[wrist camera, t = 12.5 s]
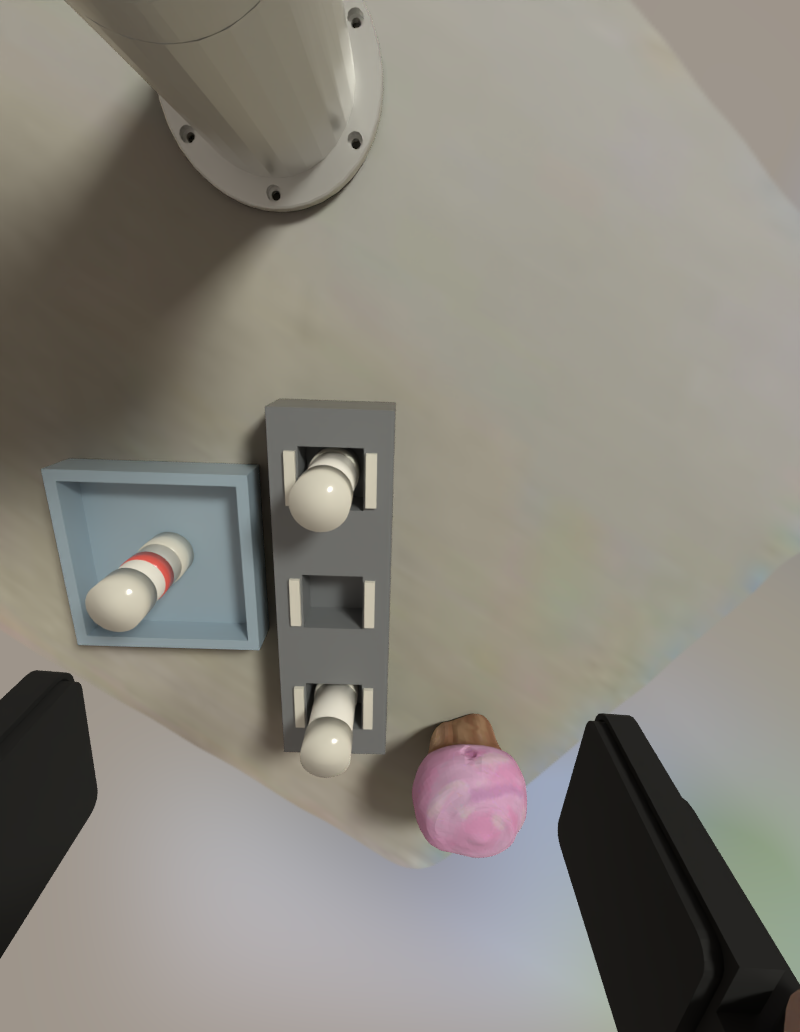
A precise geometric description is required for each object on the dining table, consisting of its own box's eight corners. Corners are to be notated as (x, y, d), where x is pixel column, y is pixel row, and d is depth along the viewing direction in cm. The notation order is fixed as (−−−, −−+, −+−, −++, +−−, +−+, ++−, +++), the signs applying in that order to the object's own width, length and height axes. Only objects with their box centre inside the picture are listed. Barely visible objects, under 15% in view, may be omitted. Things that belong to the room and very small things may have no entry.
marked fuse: (145, 531, 38) (79, 582, 30) (190, 532, 38) (137, 583, 30) (152, 572, 39) (91, 631, 31) (196, 573, 39) (146, 632, 31)
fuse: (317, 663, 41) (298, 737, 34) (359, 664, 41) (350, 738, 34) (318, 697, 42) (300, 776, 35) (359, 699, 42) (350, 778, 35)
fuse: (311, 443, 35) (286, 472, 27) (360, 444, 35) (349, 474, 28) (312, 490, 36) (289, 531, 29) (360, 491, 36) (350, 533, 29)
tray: (68, 458, 36) (40, 468, 34) (259, 464, 37) (247, 475, 34) (100, 623, 41) (78, 645, 38) (269, 628, 41) (259, 650, 38)
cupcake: (512, 767, 46) (541, 879, 37) (417, 777, 46) (421, 890, 37) (506, 687, 43) (535, 785, 34) (404, 698, 43) (405, 798, 34)
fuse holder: (279, 398, 35) (263, 407, 31) (395, 402, 35) (394, 411, 31) (294, 715, 44) (283, 754, 40) (386, 718, 44) (385, 757, 40)
